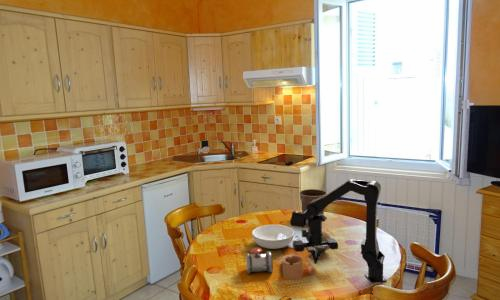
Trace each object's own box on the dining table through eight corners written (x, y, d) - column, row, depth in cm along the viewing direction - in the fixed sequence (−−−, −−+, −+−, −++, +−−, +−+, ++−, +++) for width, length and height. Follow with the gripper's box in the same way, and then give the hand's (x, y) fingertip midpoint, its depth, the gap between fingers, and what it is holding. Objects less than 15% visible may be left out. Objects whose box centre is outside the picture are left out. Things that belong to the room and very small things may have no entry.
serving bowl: (289, 256, 171) (288, 242, 170) (246, 251, 178) (246, 237, 176) (298, 238, 190) (297, 226, 189) (259, 235, 197) (259, 222, 196)
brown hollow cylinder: (303, 280, 149) (303, 264, 148) (282, 280, 150) (282, 264, 148) (300, 260, 167) (300, 245, 166) (282, 260, 167) (281, 245, 166)
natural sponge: (335, 250, 175) (335, 230, 173) (328, 257, 168) (328, 237, 166) (317, 246, 180) (317, 227, 178) (310, 253, 173) (309, 233, 171)
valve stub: (270, 266, 162) (269, 244, 161) (273, 275, 154) (272, 253, 152) (246, 268, 161) (245, 246, 160) (248, 277, 153) (247, 255, 151)
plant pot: (311, 212, 230) (311, 187, 227) (332, 218, 218) (332, 192, 215) (293, 218, 220) (293, 192, 217) (314, 225, 207) (314, 198, 205)
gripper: (330, 221, 165) (330, 253, 168) (290, 223, 164) (290, 256, 166) (338, 230, 154) (338, 265, 157) (295, 233, 153) (295, 268, 156)
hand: (315, 263), depth 159 cm, fingers closed
